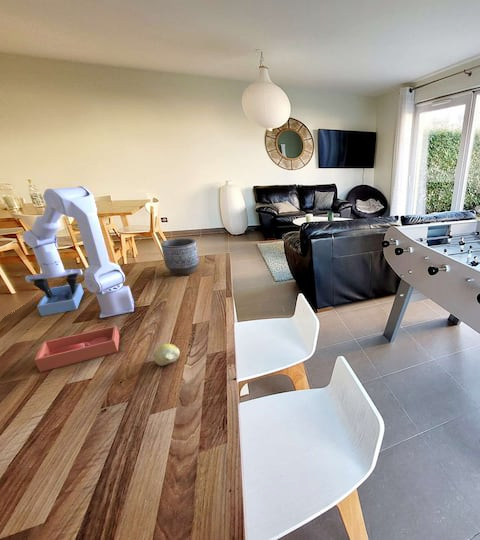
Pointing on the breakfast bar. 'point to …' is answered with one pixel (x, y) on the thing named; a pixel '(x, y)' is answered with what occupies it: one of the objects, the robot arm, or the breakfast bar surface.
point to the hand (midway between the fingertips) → (62, 295)
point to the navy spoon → (62, 296)
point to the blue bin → (71, 304)
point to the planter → (180, 255)
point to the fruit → (166, 354)
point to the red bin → (73, 356)
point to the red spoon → (79, 345)
